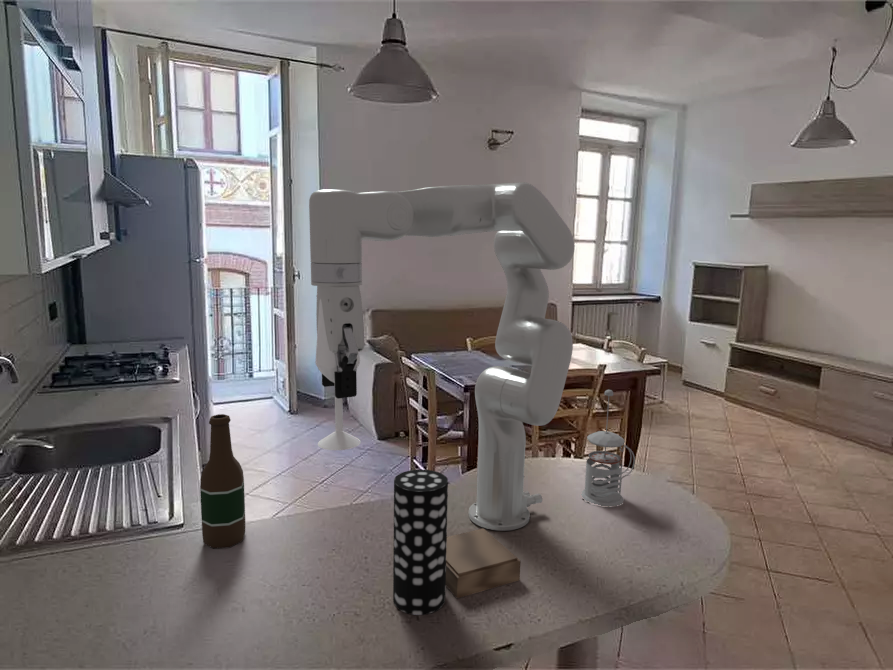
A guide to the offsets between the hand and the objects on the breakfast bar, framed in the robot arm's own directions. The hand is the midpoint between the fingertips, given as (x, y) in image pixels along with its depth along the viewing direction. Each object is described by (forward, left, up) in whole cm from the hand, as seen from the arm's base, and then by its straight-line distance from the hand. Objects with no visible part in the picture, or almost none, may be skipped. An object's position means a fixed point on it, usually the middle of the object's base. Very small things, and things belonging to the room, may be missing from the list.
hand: (338, 390), depth 91 cm
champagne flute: (0, 0, -9) cm, 9 cm away
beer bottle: (+15, -24, -33) cm, 44 cm away
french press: (-64, -8, -33) cm, 73 cm away
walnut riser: (-22, +5, -33) cm, 40 cm away
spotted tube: (-10, +8, -33) cm, 36 cm away
